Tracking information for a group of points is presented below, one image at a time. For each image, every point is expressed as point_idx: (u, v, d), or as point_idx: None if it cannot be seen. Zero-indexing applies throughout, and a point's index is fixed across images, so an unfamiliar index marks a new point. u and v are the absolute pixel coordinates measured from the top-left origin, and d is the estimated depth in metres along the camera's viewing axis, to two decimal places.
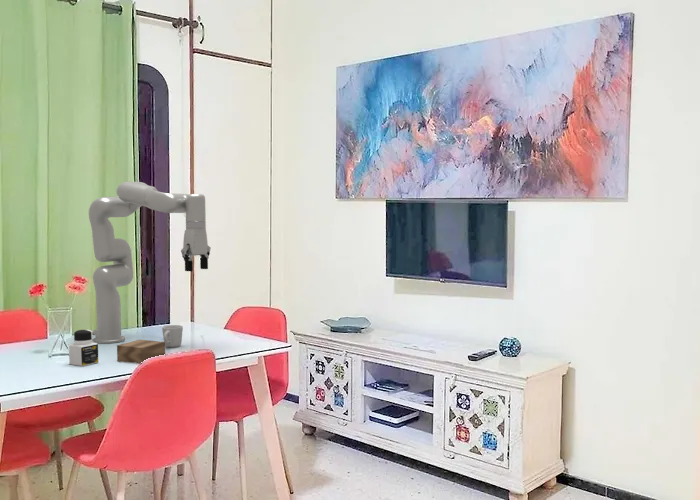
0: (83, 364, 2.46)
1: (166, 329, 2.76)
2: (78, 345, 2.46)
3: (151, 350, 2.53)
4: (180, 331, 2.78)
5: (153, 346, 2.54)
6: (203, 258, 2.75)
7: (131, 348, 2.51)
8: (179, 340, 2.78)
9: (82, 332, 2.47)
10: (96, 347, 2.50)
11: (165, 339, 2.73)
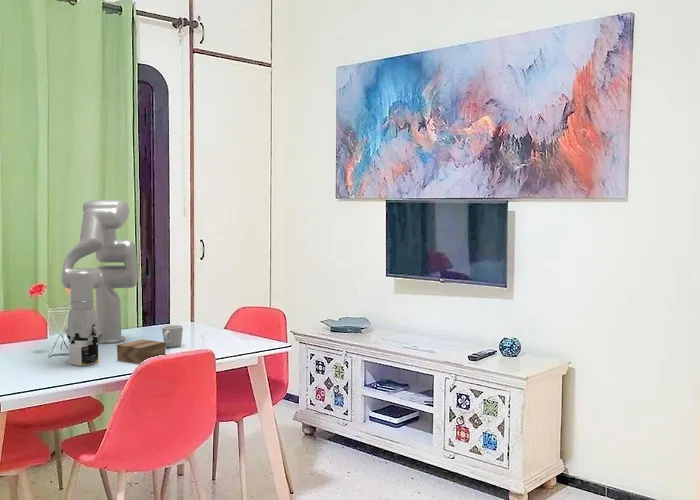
0: (83, 364, 2.46)
1: (166, 329, 2.76)
2: (78, 345, 2.46)
3: (150, 351, 2.53)
4: (180, 331, 2.78)
5: (152, 346, 2.53)
6: None
7: (129, 348, 2.51)
8: (179, 340, 2.78)
9: None
10: (96, 347, 2.50)
11: (165, 339, 2.73)
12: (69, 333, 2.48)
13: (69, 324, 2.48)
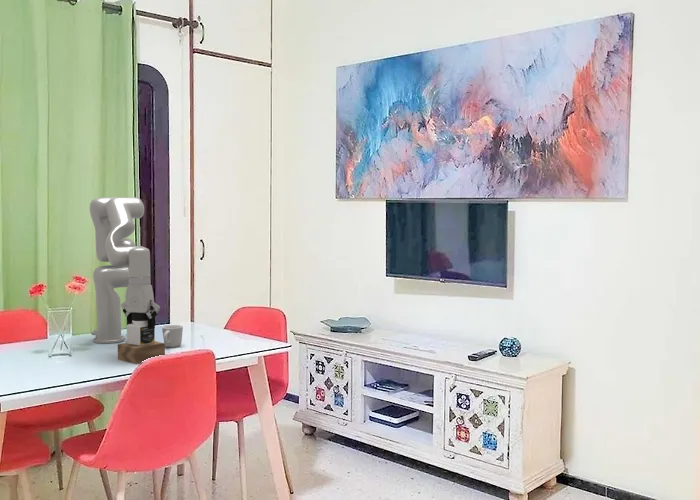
0: (141, 344, 2.52)
1: (166, 329, 2.76)
2: (137, 325, 2.53)
3: (147, 351, 2.52)
4: (180, 331, 2.78)
5: (149, 347, 2.53)
6: (130, 315, 2.58)
7: (128, 348, 2.52)
8: (179, 340, 2.78)
9: (140, 313, 2.54)
10: None
11: (165, 339, 2.73)
12: (127, 308, 2.55)
13: (127, 300, 2.55)
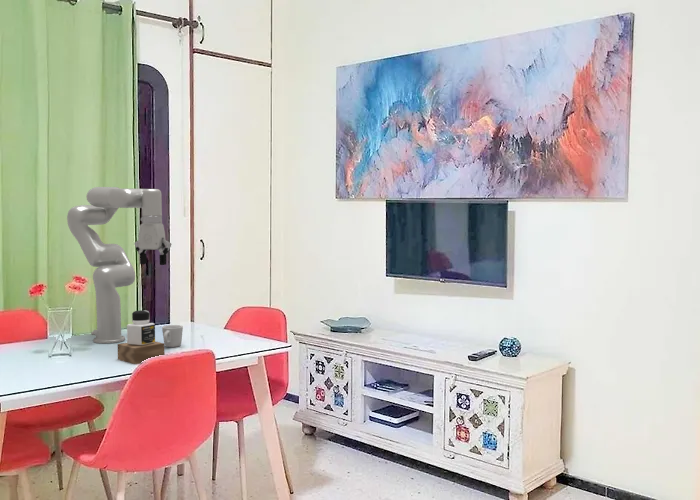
0: (143, 343, 2.52)
1: (166, 329, 2.76)
2: (137, 325, 2.53)
3: (146, 351, 2.52)
4: (180, 331, 2.78)
5: (148, 347, 2.52)
6: (143, 253, 2.75)
7: (127, 348, 2.52)
8: (179, 340, 2.78)
9: (141, 312, 2.54)
10: (153, 327, 2.57)
11: (165, 339, 2.73)
12: (140, 246, 2.72)
13: (140, 238, 2.72)
